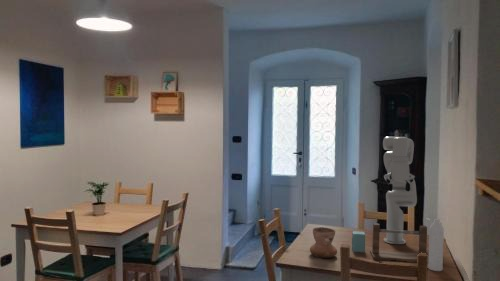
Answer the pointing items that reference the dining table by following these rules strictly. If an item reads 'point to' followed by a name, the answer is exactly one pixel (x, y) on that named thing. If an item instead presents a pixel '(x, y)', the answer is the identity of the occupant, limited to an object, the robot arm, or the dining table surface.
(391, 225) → the robot arm
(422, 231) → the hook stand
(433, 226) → the water bottle
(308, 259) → the dining table surface
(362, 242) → the saddle hanger
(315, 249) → the ceramic jug
